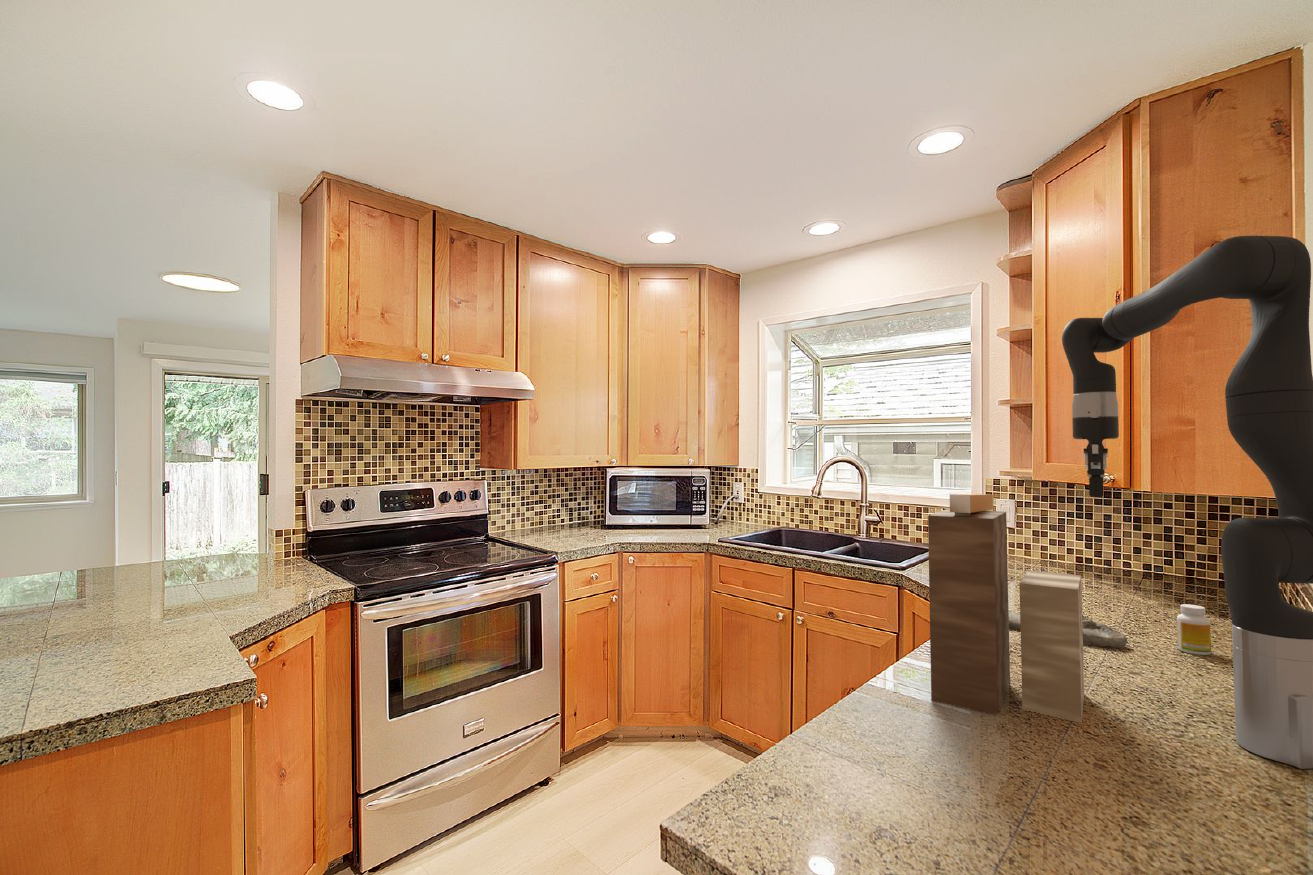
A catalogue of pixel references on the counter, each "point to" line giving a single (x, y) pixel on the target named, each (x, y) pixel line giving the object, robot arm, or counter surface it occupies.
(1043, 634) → the short stand
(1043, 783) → the counter surface
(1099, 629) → the long grey stone
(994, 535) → the tall stand
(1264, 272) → the robot arm
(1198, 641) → the supplement bottle
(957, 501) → the pale tan wood block
